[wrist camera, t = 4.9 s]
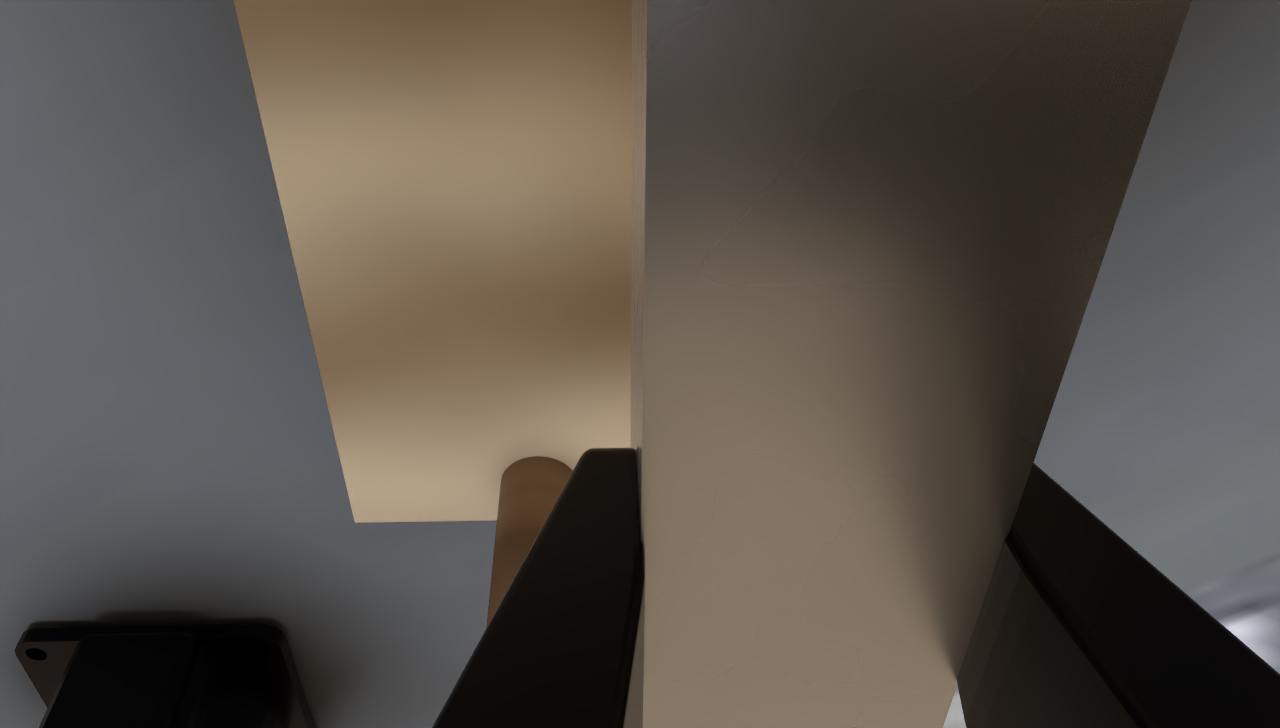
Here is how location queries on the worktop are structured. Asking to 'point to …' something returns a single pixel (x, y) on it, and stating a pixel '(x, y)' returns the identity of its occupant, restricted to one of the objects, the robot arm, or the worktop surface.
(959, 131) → the beige stepped post
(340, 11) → the peg board
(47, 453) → the worktop surface
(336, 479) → the worktop surface
